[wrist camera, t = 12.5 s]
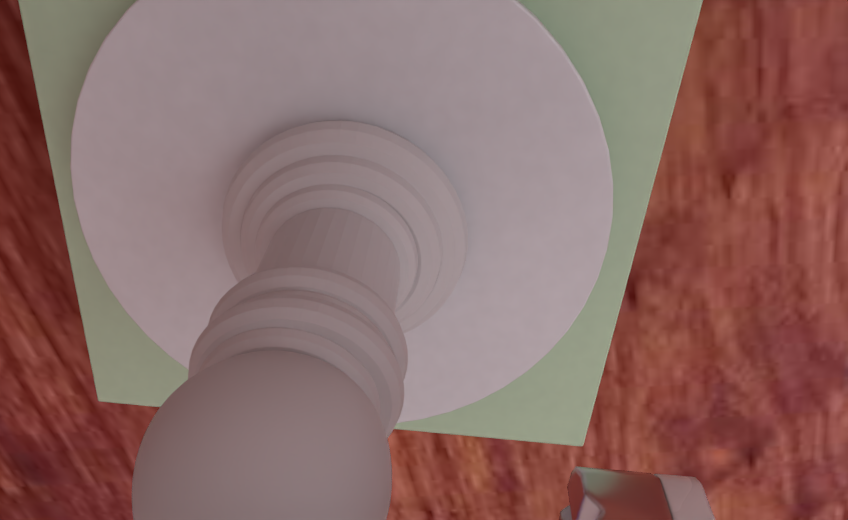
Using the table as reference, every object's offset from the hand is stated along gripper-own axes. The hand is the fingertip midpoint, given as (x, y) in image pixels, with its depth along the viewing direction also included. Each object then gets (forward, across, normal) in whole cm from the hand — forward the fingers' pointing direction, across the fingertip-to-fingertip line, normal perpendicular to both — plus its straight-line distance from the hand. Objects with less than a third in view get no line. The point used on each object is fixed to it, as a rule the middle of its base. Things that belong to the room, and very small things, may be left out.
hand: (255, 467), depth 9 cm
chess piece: (+8, 0, 0) cm, 8 cm away
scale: (+11, 0, 0) cm, 11 cm away
